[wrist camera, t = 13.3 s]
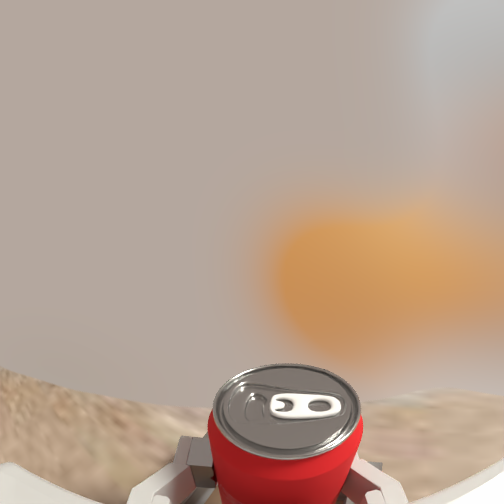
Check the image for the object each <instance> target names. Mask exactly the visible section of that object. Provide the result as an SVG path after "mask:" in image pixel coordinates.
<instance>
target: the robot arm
mask: <svg viewBox="0 0 504 504" xmlns="http://www.w3.org/2000/svg"><path fill="white" fill-rule="evenodd" d="M216 485H217V478H216V473H215V468H214V463H213V458H212V453H211V447H210V441H209V439H208V438H198V437H189V436H181V437H180V439H179V443H178V447H177V450H176V454H175V457H174V461H173V463H168V464H167V465H166V466H164V467H163V468H161V469H160V470H159V471H157V472H156V473H154V474H153V475H152V476H150V477H149V478H147V479H146V480H144V481H143V482H141V483H140V484H138V485H137V486H135V487H134V488H132V491H131V493H130V496H129V499H128V501H127V504H180V503H181V502H182V501H183V500H184V499H185V498H186V497H188V496H189V495H190V494H191V493H192V492H193V491H194V490H195V489H196V487H203V488H216ZM341 492H342V493H344V494H345V495H346V496H347V497H348V498H349V499H350V500H351V501H352V502H354V503H355V504H504V458H502V459H500V460H499V461H497V462H496V463H494V464H492V465H491V466H489V467H487V468H485V469H484V470H482V471H480V472H478V473H476V474H474V475H473V476H471V477H469V478H467V479H465V480H463V481H461V482H459V483H457V484H454V485H452V486H450V487H448V488H446V489H443V490H441V491H439V492H436V493H434V494H431V495H429V496H426V497H424V498H421V499H418V500H416V501H413V502H410V503H408V500H407V498H406V495H405V493H404V491H403V488H402V486H401V483H400V482H398V481H396V480H395V479H393V478H392V477H390V476H388V475H387V474H385V473H384V472H382V471H380V470H379V469H377V468H376V467H374V466H373V465H371V464H370V463H368V462H367V461H365V460H364V459H359V457H358V454H357V452H356V455H355V457H354V460H353V463H352V465H351V468H350V470H349V473H348V475H347V478H346V480H345V482H344V485H343V487H342V489H341ZM0 504H103V503H100V502H97V501H94V500H91V499H89V498H86V497H83V496H81V495H78V494H76V493H73V492H71V491H68V490H66V489H64V488H62V487H59V486H57V485H55V484H53V483H51V482H49V481H47V480H45V479H43V478H41V477H39V476H37V475H35V474H33V473H31V472H29V471H28V470H26V469H24V468H22V467H21V466H19V465H17V464H15V463H13V462H6V463H2V464H0Z"/></svg>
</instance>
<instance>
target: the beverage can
mask: <svg viewBox="0 0 504 504" xmlns="http://www.w3.org/2000/svg"><path fill="white" fill-rule="evenodd" d="M362 433H363V421H362V416H361V404H360V400H359V397H358V395H357V393H356V392H355V390H354V389H353V388H352V387H351V385H350V384H348V383H347V382H346V381H345V380H344V379H342V378H341V377H339V376H337V375H335V374H334V373H332V372H330V371H328V370H325V369H321V368H317V367H314V366H309V365H302V364H271V365H265V366H260V367H256V368H252V369H249V370H247V371H244V372H242V373H240V374H238V375H236V376H234V377H232V378H231V379H230V380H228V381H227V382H226V383H225V384H224V385H223V386H222V387H221V388H220V390H219V391H218V392H217V394H216V396H215V399H214V403H213V409H212V411H211V413H210V416H209V420H208V436H209V441H210V447H211V453H212V458H213V463H214V468H215V473H216V478H217V483H218V488H219V492H220V497H221V501H222V504H335V502H336V500H337V498H338V496H339V494H340V492H341V489H342V487H343V485H344V482H345V480H346V478H347V475H348V473H349V470H350V468H351V465H352V463H353V460H354V457H355V455H356V452H357V449H358V447H359V444H360V441H361V438H362Z"/></svg>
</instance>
